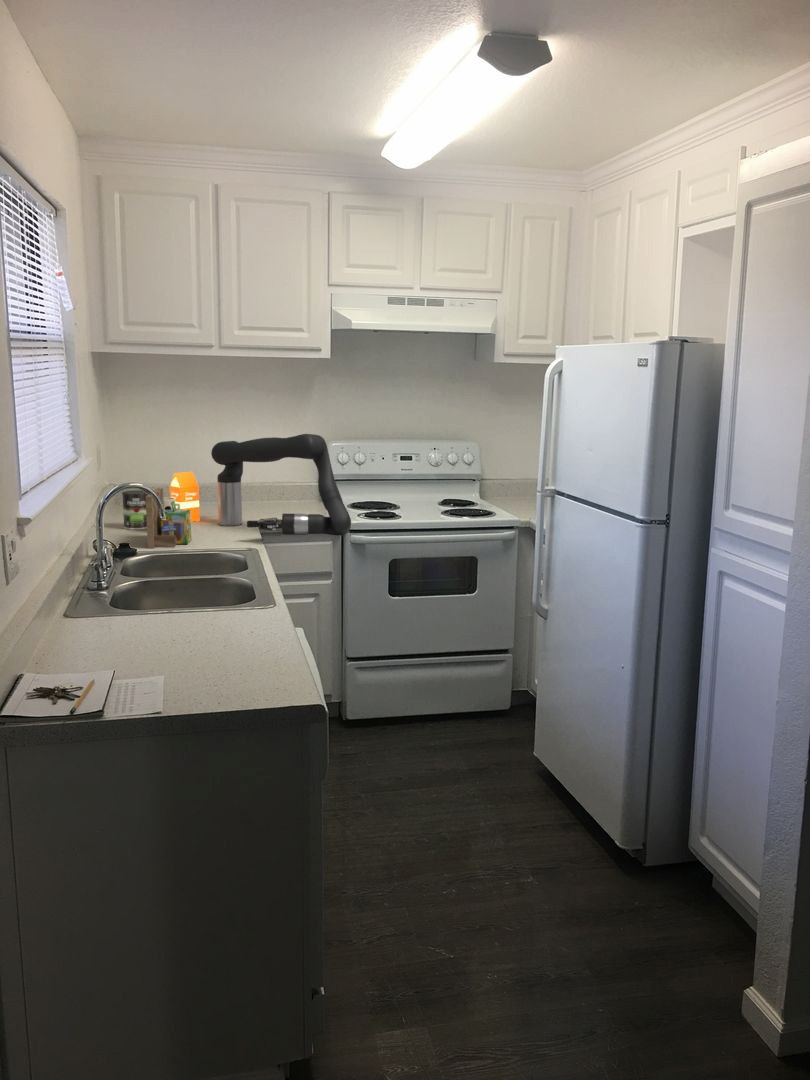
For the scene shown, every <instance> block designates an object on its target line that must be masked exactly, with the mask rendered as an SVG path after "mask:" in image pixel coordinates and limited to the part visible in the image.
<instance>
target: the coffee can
mask: <svg viewBox="0 0 810 1080" xmlns="http://www.w3.org/2000/svg"><path fill="white" fill-rule="evenodd" d="M143 491H144V490H138V489H137V490H125V491H122V493H121V495H122V508H123V510H122V511H123V514H122V515H123V529H125V530H129V531H130V530H131V531H132V530H134V531H140V530H141V531H142V530H147V517H146V496H147V495H148V494H146V493H145V492H143Z"/></svg>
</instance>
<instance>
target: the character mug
mask: <svg viewBox="0 0 810 1080" xmlns="http://www.w3.org/2000/svg"><path fill="white" fill-rule="evenodd" d="M172 501H174V503H175V498H170V496H169V497H167V496H166V497H164V509H165V510H169V509H173V508H172V505H171V502H172ZM175 506H178V509H180V504H179V503H175ZM173 507H174V505H173Z"/></svg>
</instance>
